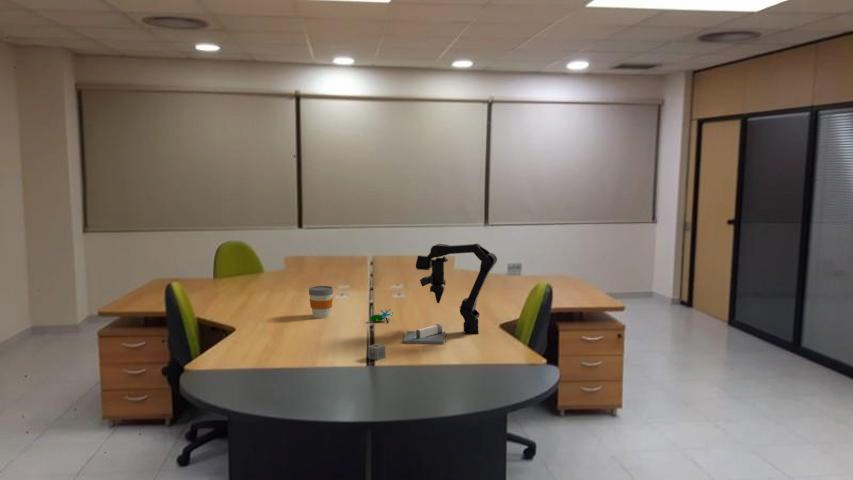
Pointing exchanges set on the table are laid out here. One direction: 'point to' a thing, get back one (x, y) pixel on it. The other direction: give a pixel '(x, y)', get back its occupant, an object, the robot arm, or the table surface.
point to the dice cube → (376, 352)
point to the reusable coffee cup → (321, 301)
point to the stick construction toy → (381, 316)
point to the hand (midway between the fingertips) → (438, 303)
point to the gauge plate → (424, 338)
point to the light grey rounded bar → (429, 331)
